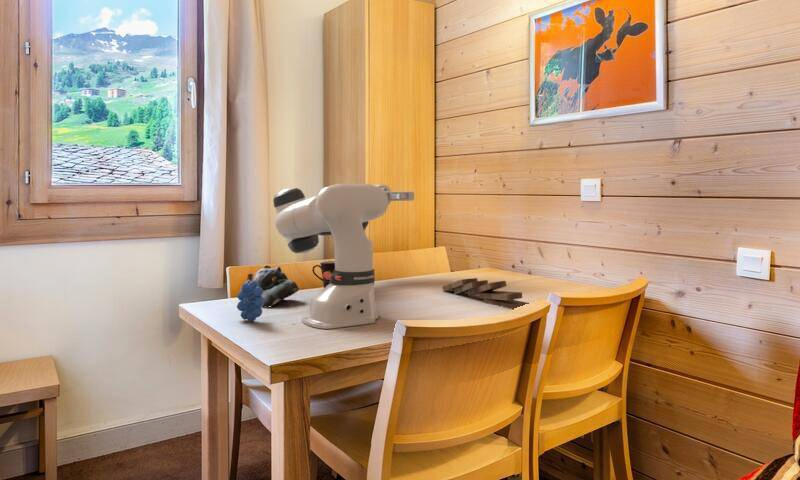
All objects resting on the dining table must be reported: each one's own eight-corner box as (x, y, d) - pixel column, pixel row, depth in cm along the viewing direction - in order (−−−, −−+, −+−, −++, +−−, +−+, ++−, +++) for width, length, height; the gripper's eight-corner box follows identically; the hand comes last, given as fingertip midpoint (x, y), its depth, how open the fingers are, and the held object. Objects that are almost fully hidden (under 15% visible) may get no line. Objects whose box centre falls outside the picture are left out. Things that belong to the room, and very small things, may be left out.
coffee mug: (349, 288, 208) (348, 261, 207) (331, 291, 201) (330, 263, 201) (329, 285, 216) (328, 260, 215) (311, 288, 209) (310, 261, 209)
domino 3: (468, 295, 192) (490, 288, 178) (467, 290, 192) (489, 282, 178) (483, 293, 194) (506, 286, 180) (482, 288, 194) (505, 280, 181)
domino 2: (454, 294, 198) (472, 287, 184) (453, 289, 198) (471, 282, 185) (469, 291, 200) (488, 285, 186) (468, 286, 200) (487, 279, 187)
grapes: (276, 322, 158) (275, 280, 157) (256, 327, 153) (255, 283, 152) (251, 316, 166) (250, 276, 165) (231, 320, 161) (230, 279, 159)
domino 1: (443, 291, 203) (462, 284, 190) (442, 286, 204) (461, 279, 190) (457, 289, 206) (478, 283, 192) (456, 285, 206) (477, 278, 192)
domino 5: (483, 303, 185) (519, 311, 173) (484, 298, 185) (519, 306, 173) (496, 301, 188) (531, 309, 177) (496, 296, 188) (532, 303, 176)
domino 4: (479, 298, 187) (507, 300, 173) (478, 292, 187) (506, 294, 173) (494, 295, 189) (522, 298, 176) (493, 290, 189) (521, 292, 176)
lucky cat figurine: (264, 309, 174) (244, 269, 175) (254, 317, 184) (236, 279, 185) (305, 290, 182) (286, 252, 183) (294, 298, 192) (276, 262, 193)
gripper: (401, 203, 226) (423, 204, 215) (359, 204, 213) (380, 205, 202) (401, 187, 225) (423, 187, 214) (359, 187, 213) (380, 188, 202)
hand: (402, 196), depth 208 cm, fingers closed
